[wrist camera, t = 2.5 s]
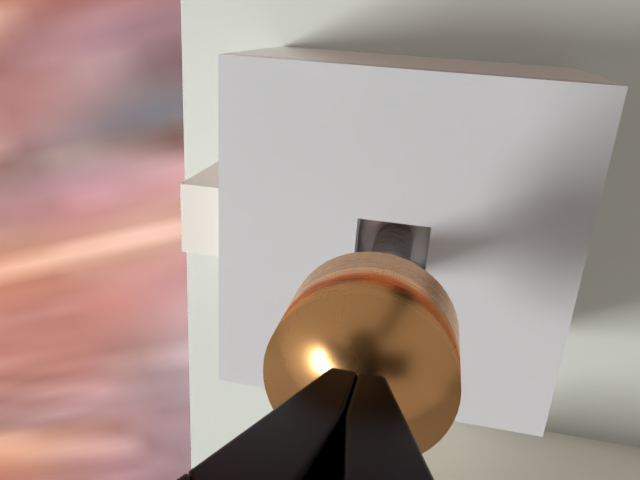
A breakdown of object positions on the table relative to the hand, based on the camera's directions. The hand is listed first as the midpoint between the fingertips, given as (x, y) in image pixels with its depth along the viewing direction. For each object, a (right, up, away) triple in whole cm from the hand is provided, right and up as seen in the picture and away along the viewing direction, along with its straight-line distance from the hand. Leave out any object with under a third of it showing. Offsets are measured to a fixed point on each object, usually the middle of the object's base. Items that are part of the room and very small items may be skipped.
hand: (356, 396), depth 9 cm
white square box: (+2, +4, +11) cm, 12 cm away
